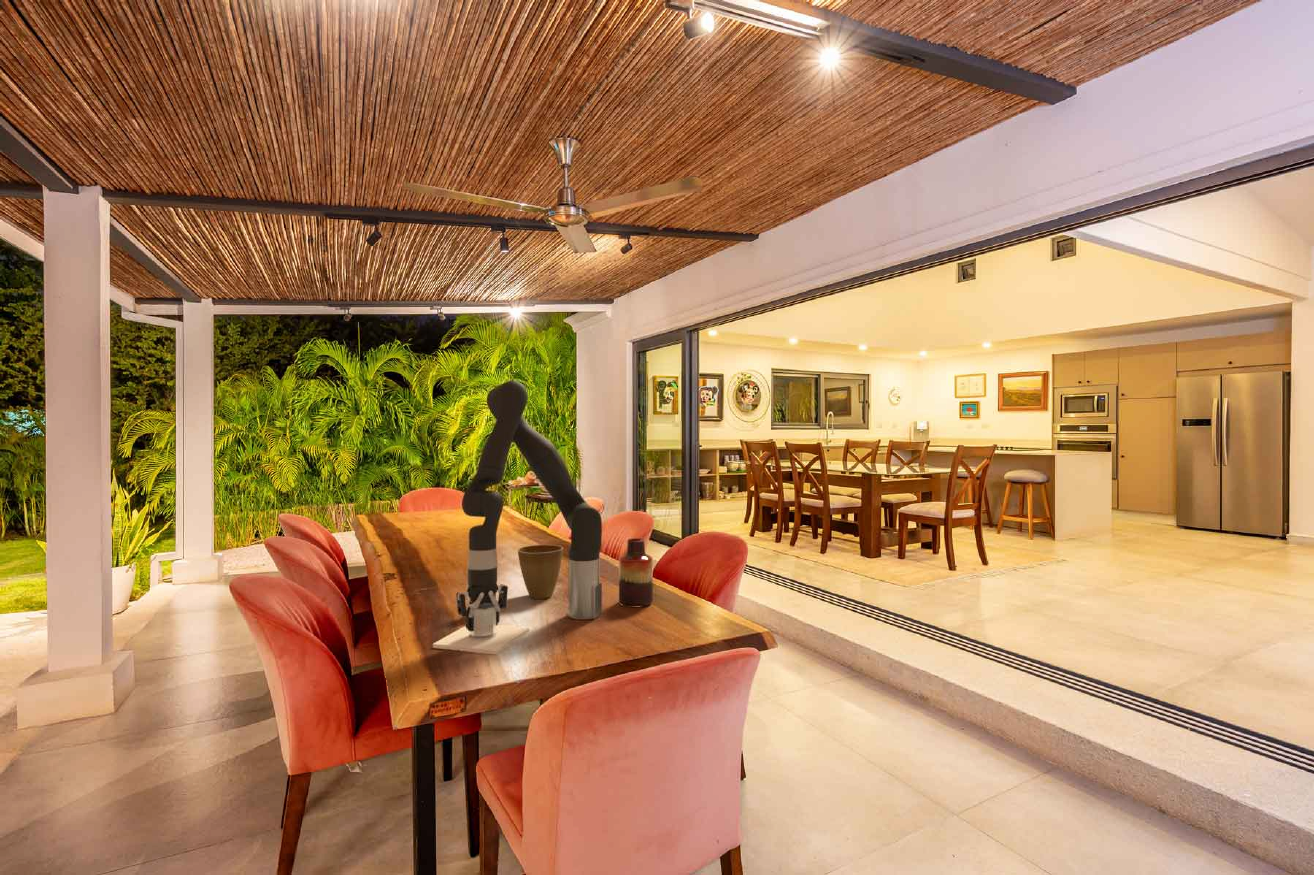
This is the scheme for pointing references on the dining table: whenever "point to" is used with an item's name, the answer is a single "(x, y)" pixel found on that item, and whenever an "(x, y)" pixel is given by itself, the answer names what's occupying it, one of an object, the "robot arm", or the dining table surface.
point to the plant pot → (540, 568)
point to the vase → (635, 575)
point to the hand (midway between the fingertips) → (482, 627)
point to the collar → (484, 620)
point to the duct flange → (481, 640)
